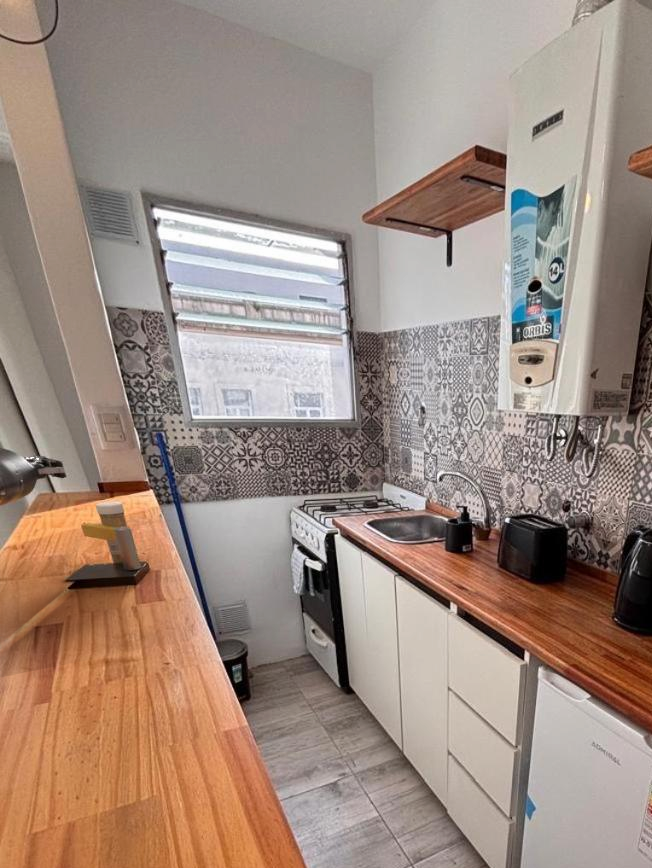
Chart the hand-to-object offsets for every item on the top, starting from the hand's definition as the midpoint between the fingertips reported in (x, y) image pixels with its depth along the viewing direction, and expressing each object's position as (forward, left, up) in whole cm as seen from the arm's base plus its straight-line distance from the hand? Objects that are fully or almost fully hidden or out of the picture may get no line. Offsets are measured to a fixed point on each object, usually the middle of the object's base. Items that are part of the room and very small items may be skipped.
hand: (42, 462), depth 90 cm
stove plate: (+4, +3, -23) cm, 23 cm away
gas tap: (+5, +6, -21) cm, 22 cm away
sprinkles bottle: (+5, +11, -23) cm, 26 cm away
